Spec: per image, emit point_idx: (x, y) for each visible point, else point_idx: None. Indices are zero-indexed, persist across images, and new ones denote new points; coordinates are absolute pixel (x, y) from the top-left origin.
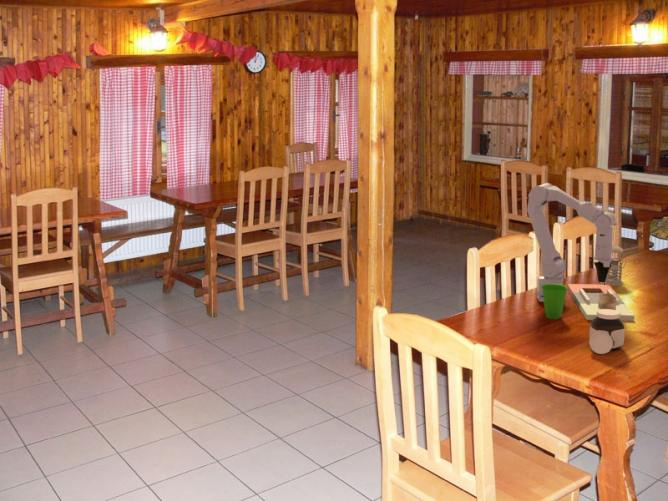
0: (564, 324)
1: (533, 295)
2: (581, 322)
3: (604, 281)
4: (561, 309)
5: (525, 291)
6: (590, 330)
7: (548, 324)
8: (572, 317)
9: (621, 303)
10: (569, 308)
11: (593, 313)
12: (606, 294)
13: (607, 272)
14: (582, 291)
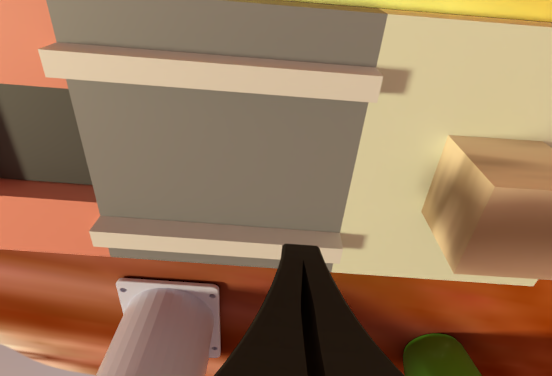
0: (537, 338)
1: None
2: (539, 288)
3: (320, 254)
4: (478, 372)
5: (66, 361)
6: None
7: (514, 373)
8: (456, 301)
9: (361, 39)
10: None
11: None
12: (489, 236)
13: (362, 330)
14: (152, 244)
